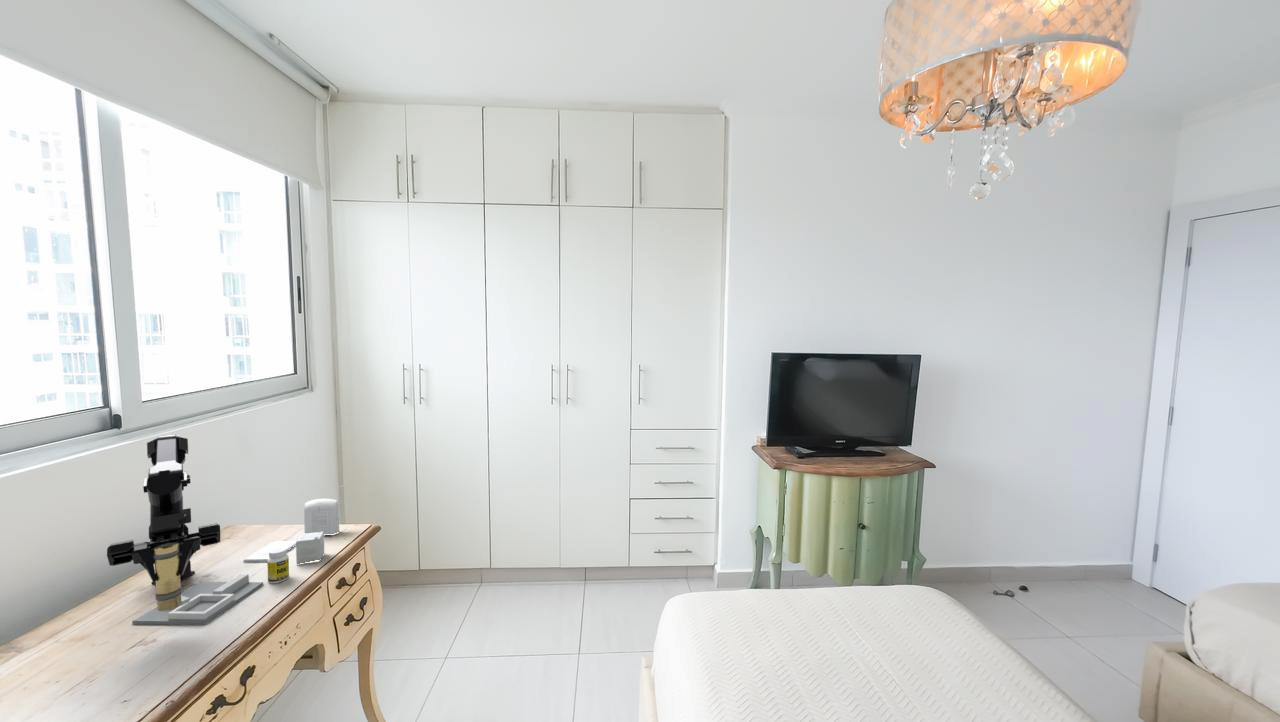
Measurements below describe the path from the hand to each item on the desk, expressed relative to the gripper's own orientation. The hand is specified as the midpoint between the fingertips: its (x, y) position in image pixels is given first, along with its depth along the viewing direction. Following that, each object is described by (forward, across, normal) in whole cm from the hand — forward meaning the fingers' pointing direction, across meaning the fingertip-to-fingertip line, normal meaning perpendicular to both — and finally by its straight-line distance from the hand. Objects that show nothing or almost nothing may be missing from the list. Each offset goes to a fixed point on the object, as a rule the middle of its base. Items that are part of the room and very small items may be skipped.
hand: (167, 578), depth 110 cm
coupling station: (+1, +6, +18) cm, 19 cm away
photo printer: (-19, +36, +39) cm, 57 cm away
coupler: (+4, 0, +6) cm, 7 cm away
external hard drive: (-15, +22, +36) cm, 45 cm away
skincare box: (-6, +30, +26) cm, 40 cm away
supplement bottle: (0, +21, +20) cm, 29 cm away
